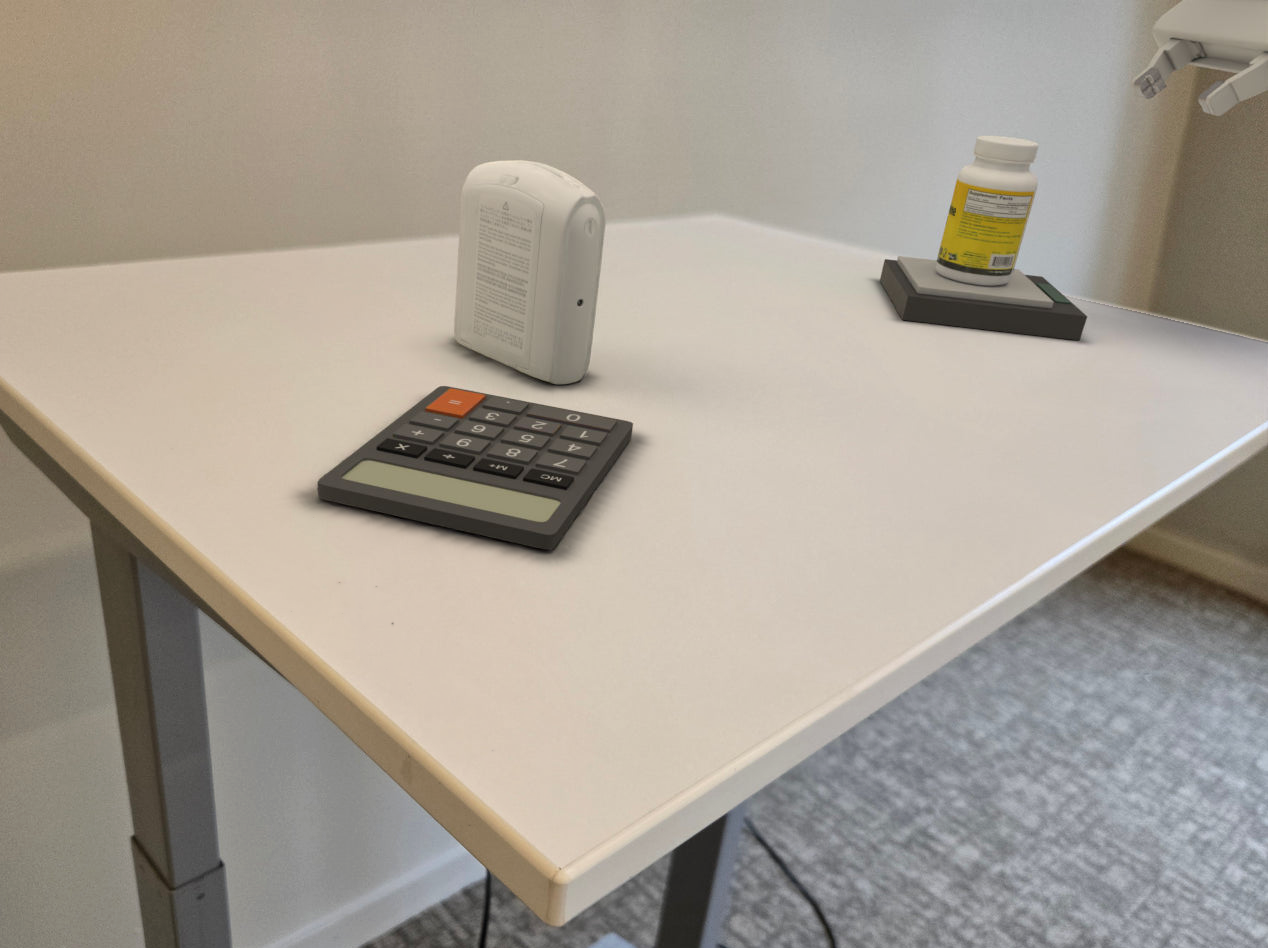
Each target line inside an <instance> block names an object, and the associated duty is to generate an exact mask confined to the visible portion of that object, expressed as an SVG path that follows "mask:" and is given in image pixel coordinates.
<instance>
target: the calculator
mask: <svg viewBox="0 0 1268 948" xmlns="http://www.w3.org/2000/svg"><path fill="white" fill-rule="evenodd" d="M633 428H634V423H633V422H632V421H628V420H624V419H619V418H614V417H609V416H605V415H598V414H594V413H589V412H583V411H577V410H573V409H569V408H563V407H557V406H552V405H547V404H542V403H536V402H531V401H526V400H522V399H515V398H510V397H505V396H500V395H494V394H491V393H484V392H479V391H474V390H469V389H464V388H458V387H455V386H448V385H440V386H438V387H436V388H435V389H434V390H433V391H431V392H430V393H429V394H427V395H426V396H424V398H421V400H420V401H418V402H417V403H416V404H414V405H413V406H412V407H410V408H409V409H408V410H407V411H405V412H404V413H403V414H401V415H400V416H399V417H398V418H396V419H395V420H394V421H393V422H391V423H390V424H389V425H387V426H386V427H385V428H384V429H382V430H380V431H379V432H378V433H377V434H375V435H374V436H373V437H372V438H370V439H369V440H368V441H367V442H365V443H364V444H363V445H361V446H360V447H359V448H357V449H356V450H355V451H354V452H353V453H351V454H350V455H349V456H347V457H345V459H343V460H342V461H340V462H339V463H338V464H337V465H336V466H334V467H333V468H332V469H330V470H329V471H328V472H327V473H325V474H324V475H323V476H321V477H320V478H319V479H317V497H318V498H319V499H322V500H325V501H329V502H334V503H338V504H341V505H347V506H351V507H356V508H360V509H364V510H368V511H374V512H376V513H382V514H387V515H392V516H397V517H399V518H404V519H408V520H413V521H417V522H422V523H427V524H430V525H435V526H439V527H445V528H449V529H452V530H457V531H462V532H466V533H470V534H475V535H480V536H484V537H488V538H493V539H496V540H502V541H506V542H510V543H515V544H519V545H524V546H529V547H532V548H537V549H542V550H553V549H554V548H555V547H556V546H557V545H558V544H559V542H560V541H561V539H562V538H563V536H564V535H565V533H566V532H567V530H568V529H569V528H570V526H571V525H572V523H573V522H574V521H575V519H576V518H577V516H578V515H579V513H580V512H581V510H582V509H583V507H584V506H585V505H586V503H588V500H589V499H590V498H591V496H592V495H593V493H594V492H595V490H596V489H597V488H598V486H599V485H600V483H601V482H602V481H603V479H604V478H605V477H606V475H607V473H608V472H609V470H610V469H611V468H612V466H613V465H614V463H615V462H616V460H617V459H618V457H619V456H620V455H621V453H622V451H623V450H624V449H625V447H626V446H627V445H628V443H629V442H630V441H631V439H632V436H633V435H632V434H633Z"/></svg>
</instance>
